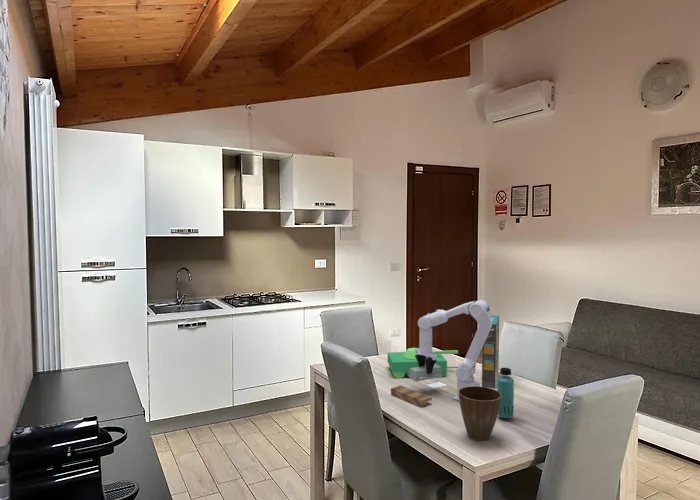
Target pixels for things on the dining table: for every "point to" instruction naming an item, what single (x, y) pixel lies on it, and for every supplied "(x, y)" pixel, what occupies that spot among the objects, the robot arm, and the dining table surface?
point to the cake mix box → (491, 355)
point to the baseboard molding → (449, 360)
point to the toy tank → (413, 361)
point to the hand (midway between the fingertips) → (425, 372)
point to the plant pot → (479, 410)
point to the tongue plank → (425, 373)
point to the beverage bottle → (506, 393)
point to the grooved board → (411, 396)
